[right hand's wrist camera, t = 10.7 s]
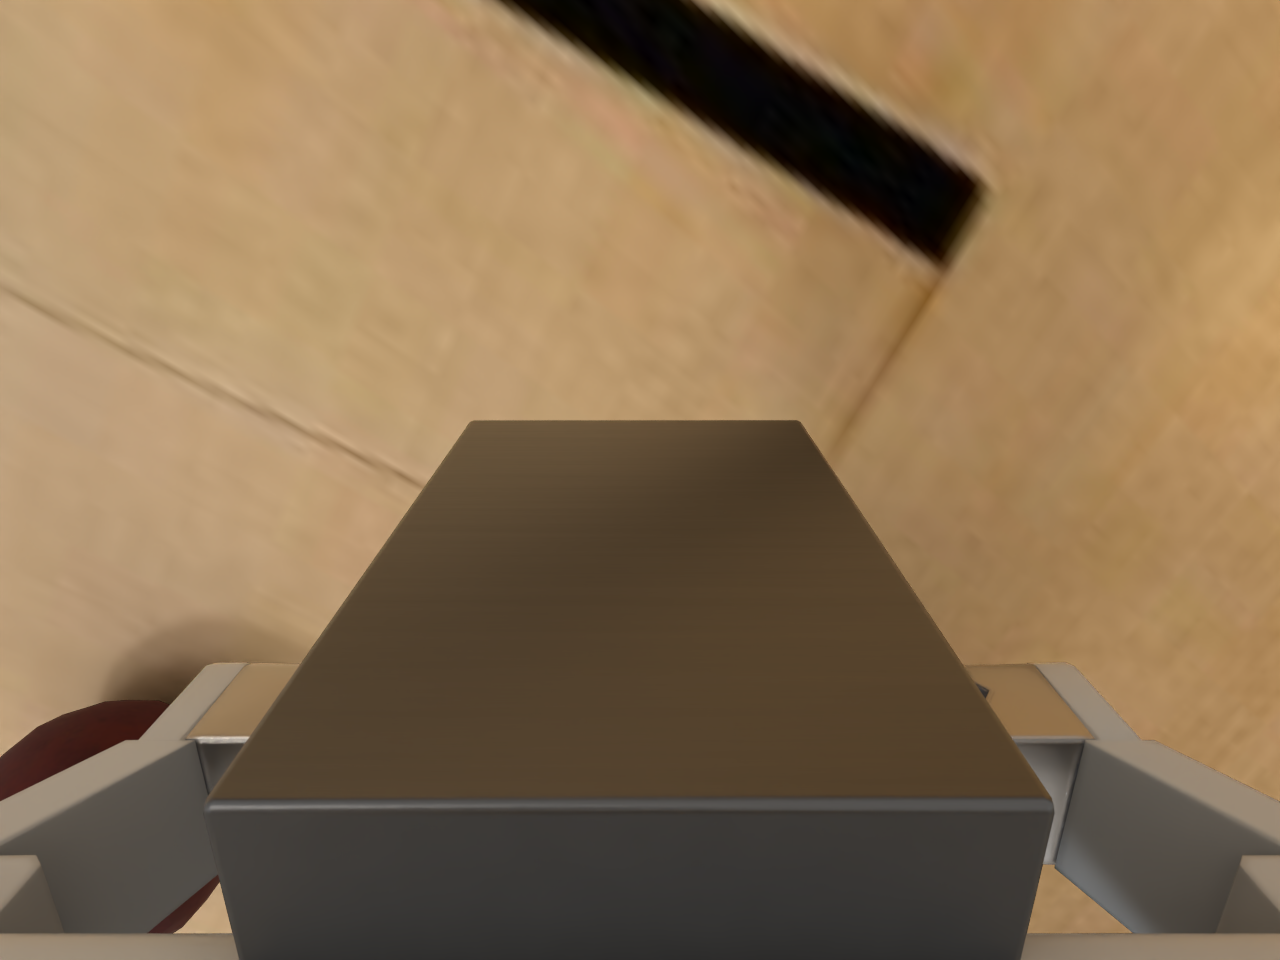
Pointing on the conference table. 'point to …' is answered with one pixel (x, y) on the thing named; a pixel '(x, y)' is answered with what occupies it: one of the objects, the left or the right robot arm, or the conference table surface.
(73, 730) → the dark maroon ball
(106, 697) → the conference table surface
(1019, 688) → the right robot arm
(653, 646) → the bar
